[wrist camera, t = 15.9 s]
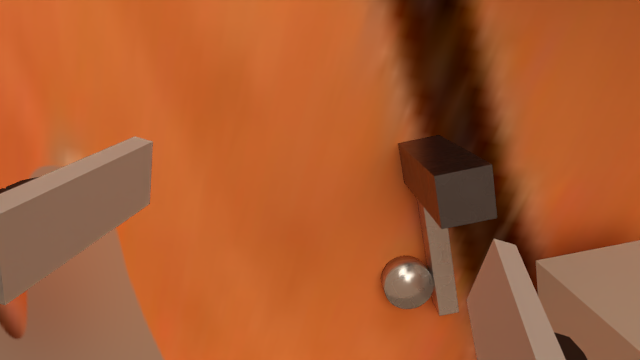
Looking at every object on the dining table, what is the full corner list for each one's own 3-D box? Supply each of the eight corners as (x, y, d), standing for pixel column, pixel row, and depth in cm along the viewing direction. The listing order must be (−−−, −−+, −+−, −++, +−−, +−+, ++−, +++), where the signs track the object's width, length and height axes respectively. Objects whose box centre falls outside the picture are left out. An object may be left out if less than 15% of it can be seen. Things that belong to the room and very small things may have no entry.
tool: (398, 143, 40) (434, 176, 28) (439, 134, 40) (491, 164, 28) (423, 304, 45) (463, 387, 33) (460, 296, 45) (512, 378, 33)
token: (378, 259, 43) (382, 269, 41) (425, 251, 43) (431, 261, 41) (383, 300, 45) (387, 312, 43) (429, 293, 45) (435, 304, 43)
